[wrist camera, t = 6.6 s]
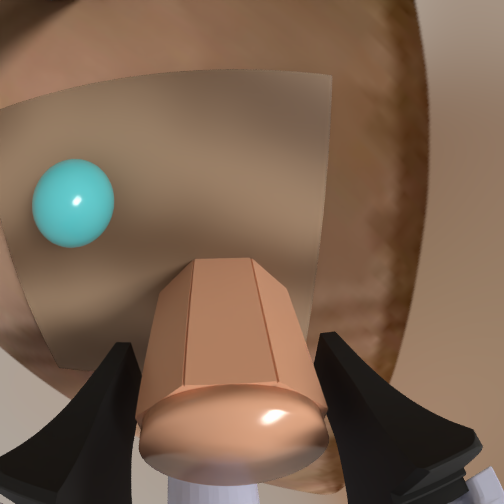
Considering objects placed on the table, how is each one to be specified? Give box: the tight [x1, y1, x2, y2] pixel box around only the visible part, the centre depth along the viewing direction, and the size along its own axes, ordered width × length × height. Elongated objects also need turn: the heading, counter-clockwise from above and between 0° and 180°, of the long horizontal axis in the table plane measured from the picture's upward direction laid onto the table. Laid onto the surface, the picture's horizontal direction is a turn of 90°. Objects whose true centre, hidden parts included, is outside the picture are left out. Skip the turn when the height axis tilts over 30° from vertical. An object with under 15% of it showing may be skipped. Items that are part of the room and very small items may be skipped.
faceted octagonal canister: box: [135, 258, 329, 486], centre depth 11 cm, size 6×6×7 cm
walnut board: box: [0, 69, 332, 374], centre depth 13 cm, size 14×14×1 cm
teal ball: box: [32, 159, 114, 248], centre depth 9 cm, size 3×3×3 cm
